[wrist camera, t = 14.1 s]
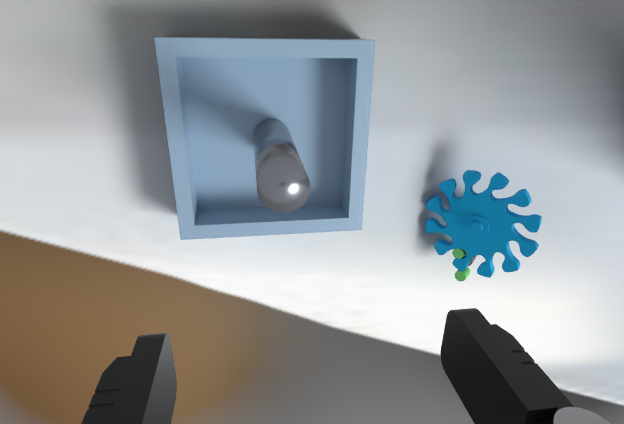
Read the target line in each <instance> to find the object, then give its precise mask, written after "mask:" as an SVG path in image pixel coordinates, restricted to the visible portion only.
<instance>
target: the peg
mask: <svg viewBox="0 0 624 424" xmlns="http://www.w3.org/2000/svg"><path fill="white" fill-rule="evenodd" d="M253 143H254V156H255V170H256V184H257V194H258V197H259V199H260V201H261V202H262V204H263V205H264V206H265V207H267V208H268V209H270V210H272V211H274V212H279V213H287V212H292V211H294V210H296V209H298V208H300V207H301V206H302V205H303V204H304V203H305V202H306V200H307V198H308V196H309V194H310V181H309V178H308V175H307V173H306V171H305V168H304V166H303V163H302V161H301V159H300V156H299V154H298V152H297V149H296V147H295V144H294V142H293V140H292V137H291V135H290V132H289V130H288V128H287V126H286V125H285V124H284V123H283V122H282V121H280V120H278V119H274V118H269V119H265V120H263V121H261V122H260V123H259V124H258V125H257V126H256V127H255V129H254V132H253Z"/></svg>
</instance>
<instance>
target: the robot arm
mask: <svg viewBox="0 0 624 424" xmlns="http://www.w3.org/2000/svg"><path fill="white" fill-rule="evenodd" d="M441 361H442V366H443V369H444V371H445V373H446V375H447V376H448V378H449V380H450V382H451V383H452V385H453V387H454V389H455V390H456V392H457V394H458V395H459V397H460V399H461V401H462V403H463V404H464V406H465V408H466V409H467V411H468V413H469V415H470V416H471V418H472V420H473V422H474V423H475V424H610V423H609V422H607V421H606V420H605V419H603V418H602V417H600V416H599V415H597V414H595V413H593V412H590V411H588V410H585V409H582V408H576V407H574V406H573V405H572V404H571V403H570V402H569V400H568V399H567V398H566V397H565V396H564V395H563V393H562V392H561V391H560V390H559V389H558V388H557V386H556V385H555V384H554V383H553V382H552V381H551V380H550V378H549V377H548V376H547V375H546V374H545V373H544V371H543V370H542V369H541V368H540V367H539V366H538V364H535V363H534V360H533V359H532V357H531V356H530V355H529V354H528V353H527V352H525V351H524V348H523V347H522V346H521V345H520V344H519V342H518V341H517V340H516V339H515V338H514V337H513V335H511V334H510V333H508V332H507V331H505V330H504V329H502V328H501V327H499V326H498V325H496V324H493V325H490V323H489V322H488V321H487V320H486V319H485V317H484V316H483V315H482V314H481V312H480V311H479V310H477V309H475V308H472V309H460V310H451V311H449V312H448V314H447V319H446V324H445V330H444V335H443V341H442V346H441ZM176 389H177V381H176V371H175V365H174V359H173V352H172V346H171V341H170V336H169V334H168V333H161V334H149V335H140V336H139V337H138V338H137V340H136V343H135V346H134V349H133V352H132V355H131V356H126V357H117V358H116V359H115V360H114V361H113V362H112V363H111V365H110V366H109V367H108V368H107V369H106V370H105V371H104V372H103V373H102V376H101V379H100V380H99V383H98V385H97V388H96V390H95V394H94V395H93V397H92V400H91V402H90V405H89V409H88V410H87V412H86V414H85V416H84V419H83V421H82V424H171V420H172V415H173V410H174V405H175V399H176Z"/></svg>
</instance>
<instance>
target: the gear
mask: <svg viewBox="0 0 624 424" xmlns="http://www.w3.org/2000/svg"><path fill="white" fill-rule="evenodd" d="M480 178H481V173H480V172H478V171H473V170H467V171H466V172H465V173H464V174H463V180H464V183H465V192H464V195H463V197H462V198H458V197H456V196H455V194H454V191H455V188H456V185H457V184H456V181H455V180H454V179H448V180H446V181H444V182H442V183H441V184H439V187H440V190H441V191H442V192H443V193H444V194H445V195H446V196H447V198H448V200H449V203H450V210H446V209H444V208H443V205H442V200H441V198H440V197H438V196H434V197H433V198H432V199H430V200H429V202H428V203H427V205H426V207H427V209H428V210H430V211H434V212H436V213H438V214H439V215H440V216H442V218H443V219H444V220H445V221H446V223H447V226H442V225H441V224H440V223H439V221H438V220H437V219H435V218H430V219H429V220H428V221H427V222H426V232H428V233H437V232H438V233H443V234H446V235H448V236H450V237H451V238H452V240H453V243H450V242H447V241H446V240H442V239H441V240H438V241H437V242H436V243H435V244H434V246H435V249H436V251H437V253H438V255H443V254H445V253H446V252H447V251H449V250H451V249H454V250H453V256H454V257H455V260H454V261H453V265H454V266H455V267H456V268H457V269H458V271H457V272H456V273H455V278H456V279H457V280H458V281H464V280H465V279H466V278H467V276H468V275H469V273H470V270H469V268H468V267H467V266H470V265H471V264H472V263H473V261H474V260H475V258H476V256H477V255H482V256H483V257H484V258H485V260H486V261H485V262H483V263H482V264H481V265H480V266H479V267H478V269H477V273H478V274H479V275H482V276H485V277H491V276H492V274H493V273H494V266H493V262H492V259H493V255H494V253H496V252H500V253H502V254H503V255H504V256H505V260H504V262H503V264H502V268H503V270H504V271H505V272H513V271H516V270H518V269H519V267H520V262H519V260H518V259H517V258H516V257H515V256H514V255H513V254H512V252H511V250H510V246H509V241H511V240H513V241H516V242H518V243H519V246H520V252H521V253H522V255H524V256H526V257H529V256H530V255H532V254H533V253H534V252H535V251H536V250H537V248H538V246H539V245H538V243H537V242H536V241H534V240H531V239H528V238H525V237H524V236H522V235H521V234H520V233H519V232H518V231H517V230H516V229H515V227H514V223H521V224H523V225H524V227H525V228H526V229H527V230H528V231H530V232H537V231H538V229H539V227H540V225H541V219H542V217H541V216H539V215H536V214H535V215H529V216H523V215H518V214H515V213H513V212H511V211H510V210H509V209H508V207H507V206H508V204H515V205H517V206H520V207H526V206H528V205H529V204H530V202H531V197H530V195H529V193H528V191H527V190H526V189H522V190H519V191H518V192H517V193H516V194H515V195H513V196H511V197H508V198H501V199H497V198H495V197H494V196H493V195H492V191H493V190H499V189H503V188H504V187H505V186H506V185H507V184H508V183H509V180H508V178H506V177H505V176H504V175H503V174H501V173H499V172H498V173H496V174H495V175H494V176H493V177H492V178H491V180H490V184H489V187H488V188H487V189H486V190H485V191H484V192H482V193H480V194H478V193H475V192H474V191H473V189H472V186H473V185H474V184H475V183H476V182H478V181H479V180H480Z"/></svg>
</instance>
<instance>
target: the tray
mask: <svg viewBox="0 0 624 424" xmlns="http://www.w3.org/2000/svg"><path fill="white" fill-rule="evenodd" d="M154 40H155V48H156V55H157V63H158V71H159V78H160V86H161V94H162V101H163V109H164V116H165V124H166V132H167V139H168V147H169V155H170V162H171V170H172V178H173V185H174V193H175V200H176V208H177V216H178V223H179V231H180V239H181V240H186V239H204V238H223V237H241V236H259V235H277V234H296V233H314V232H332V231H351V230H362V217H363V204H364V190H365V176H366V162H367V148H368V134H369V120H370V106H371V92H372V78H373V64H374V50H375V40H367V39H339V38H257V37H176V36H164V37H156V38H154ZM269 118H274V119H278V120H280V121H282V122H283V123H284V124H285V125H286V126H287V128H288V130H289V132H290V135H291V137H292V140H293V142H294V144H295V147H296V149H297V152H298V154H299V156H300V159H301V161H302V163H303V166H304V168H305V171H306V173H307V175H308V178H309V181H310V194H309V196H308V198H307V200H306V202H305V203H304V204H303V205H302V206H301V207H300V208H298V209H296V210H294V211H292V212H287V213H279V212H274V211H272V210H270V209H268V208H267V207H265V206H264V205H263V204H262V202H261V201H260V199H259V197H258V194H257V184H256V170H255V156H254V143H253V132H254V129H255V127H256V126H257V125H258V124H259V123H260V122H261V121H263V120H265V119H269Z"/></svg>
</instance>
